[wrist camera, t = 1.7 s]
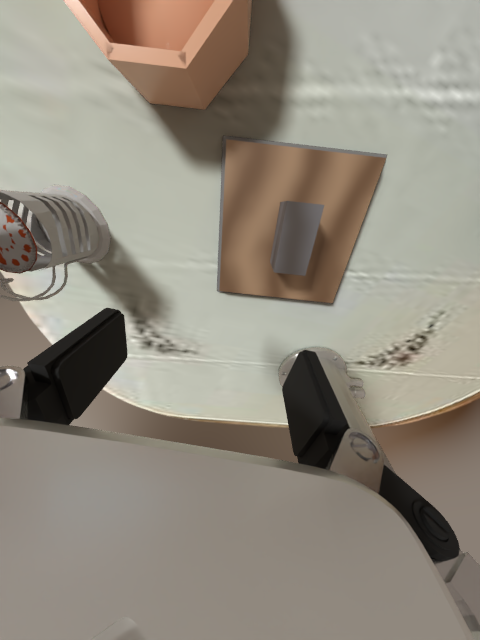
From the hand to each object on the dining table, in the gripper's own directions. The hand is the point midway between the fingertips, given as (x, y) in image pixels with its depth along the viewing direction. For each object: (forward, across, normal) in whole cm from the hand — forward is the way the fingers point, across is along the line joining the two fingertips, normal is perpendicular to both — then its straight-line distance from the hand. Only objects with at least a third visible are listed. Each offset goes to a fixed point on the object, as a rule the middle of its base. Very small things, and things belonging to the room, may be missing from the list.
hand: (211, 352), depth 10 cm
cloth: (+20, -6, -5) cm, 21 cm away
